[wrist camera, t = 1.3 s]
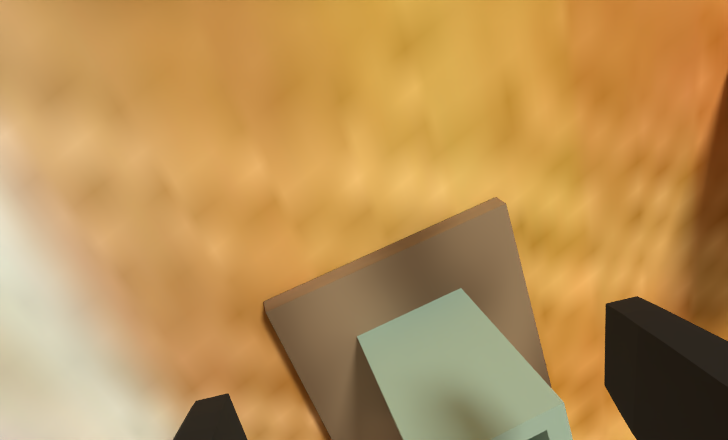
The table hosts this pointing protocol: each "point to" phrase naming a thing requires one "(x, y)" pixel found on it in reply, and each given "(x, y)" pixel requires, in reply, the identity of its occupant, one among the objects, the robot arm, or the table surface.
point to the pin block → (400, 311)
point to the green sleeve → (459, 377)
